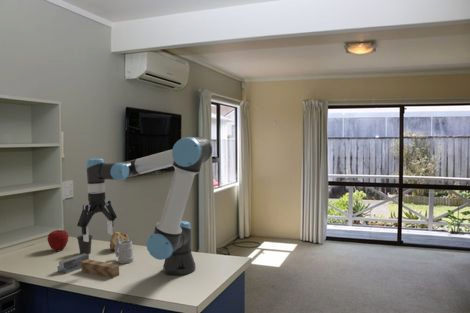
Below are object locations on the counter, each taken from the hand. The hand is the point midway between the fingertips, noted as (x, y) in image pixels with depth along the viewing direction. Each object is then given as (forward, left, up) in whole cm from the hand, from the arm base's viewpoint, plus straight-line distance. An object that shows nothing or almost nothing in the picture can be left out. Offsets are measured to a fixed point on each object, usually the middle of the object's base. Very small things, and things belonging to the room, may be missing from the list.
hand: (98, 237), depth 178 cm
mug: (+4, -18, -17) cm, 25 cm away
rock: (+21, -31, -17) cm, 41 cm away
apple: (+51, -14, -17) cm, 55 cm away
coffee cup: (+32, -17, -17) cm, 40 cm away
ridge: (+17, +1, -17) cm, 24 cm away
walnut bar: (0, 0, -17) cm, 17 cm away
